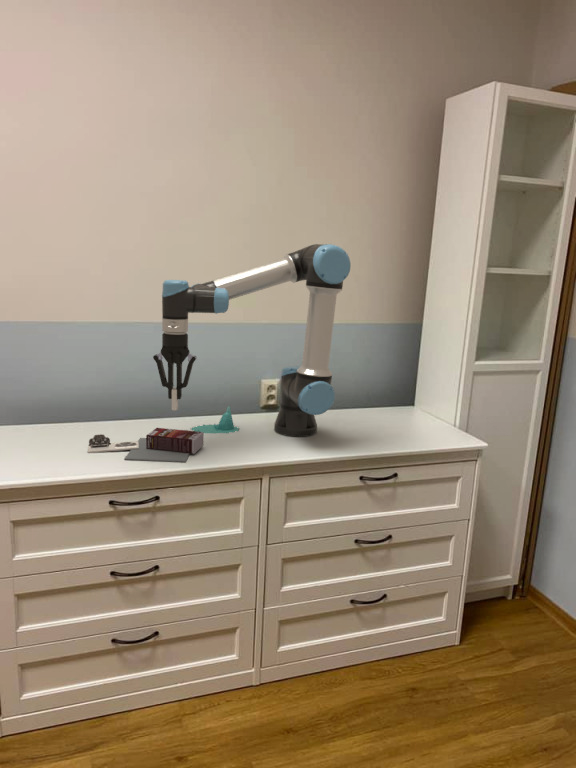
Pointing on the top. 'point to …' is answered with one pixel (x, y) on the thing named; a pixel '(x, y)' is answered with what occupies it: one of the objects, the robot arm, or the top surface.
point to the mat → (155, 454)
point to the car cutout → (109, 445)
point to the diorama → (219, 425)
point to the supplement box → (175, 440)
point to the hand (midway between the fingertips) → (174, 409)
